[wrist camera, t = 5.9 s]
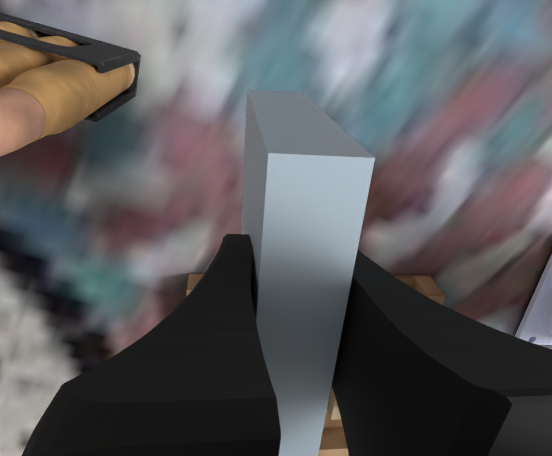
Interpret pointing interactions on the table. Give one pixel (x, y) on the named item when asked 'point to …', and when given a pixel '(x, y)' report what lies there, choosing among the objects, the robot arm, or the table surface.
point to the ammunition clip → (57, 80)
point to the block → (301, 249)
